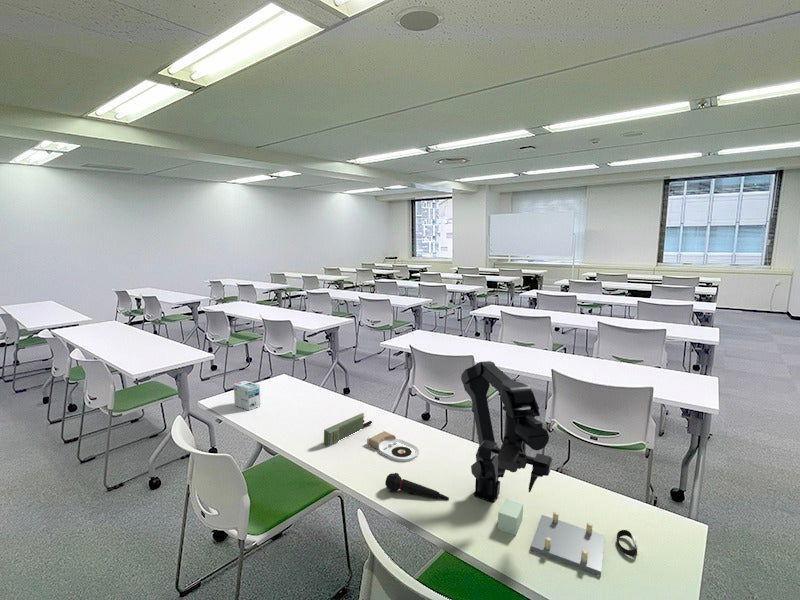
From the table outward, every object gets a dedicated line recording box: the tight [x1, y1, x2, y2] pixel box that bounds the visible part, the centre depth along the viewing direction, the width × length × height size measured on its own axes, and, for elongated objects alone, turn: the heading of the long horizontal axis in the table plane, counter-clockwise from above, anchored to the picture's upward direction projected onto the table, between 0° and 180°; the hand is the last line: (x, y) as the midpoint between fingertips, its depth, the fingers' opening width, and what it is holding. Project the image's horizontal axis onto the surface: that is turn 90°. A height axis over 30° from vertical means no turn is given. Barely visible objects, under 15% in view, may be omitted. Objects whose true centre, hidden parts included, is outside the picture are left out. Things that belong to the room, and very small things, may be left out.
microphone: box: [385, 472, 450, 501], centre depth 126 cm, size 6×6×20 cm
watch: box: [616, 529, 639, 557], centre depth 105 cm, size 8×5×4 cm, turn 164°
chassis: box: [530, 511, 606, 577], centre depth 105 cm, size 16×14×4 cm
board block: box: [497, 497, 524, 536], centre depth 113 cm, size 5×7×5 cm
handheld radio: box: [323, 412, 373, 447], centre depth 164 cm, size 7×3×25 cm
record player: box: [366, 430, 420, 462], centre depth 153 cm, size 12×3×20 cm
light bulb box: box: [233, 380, 261, 411], centre depth 190 cm, size 11×7×11 cm, turn 58°
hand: (512, 486), depth 111 cm, fingers open, 9 cm apart
